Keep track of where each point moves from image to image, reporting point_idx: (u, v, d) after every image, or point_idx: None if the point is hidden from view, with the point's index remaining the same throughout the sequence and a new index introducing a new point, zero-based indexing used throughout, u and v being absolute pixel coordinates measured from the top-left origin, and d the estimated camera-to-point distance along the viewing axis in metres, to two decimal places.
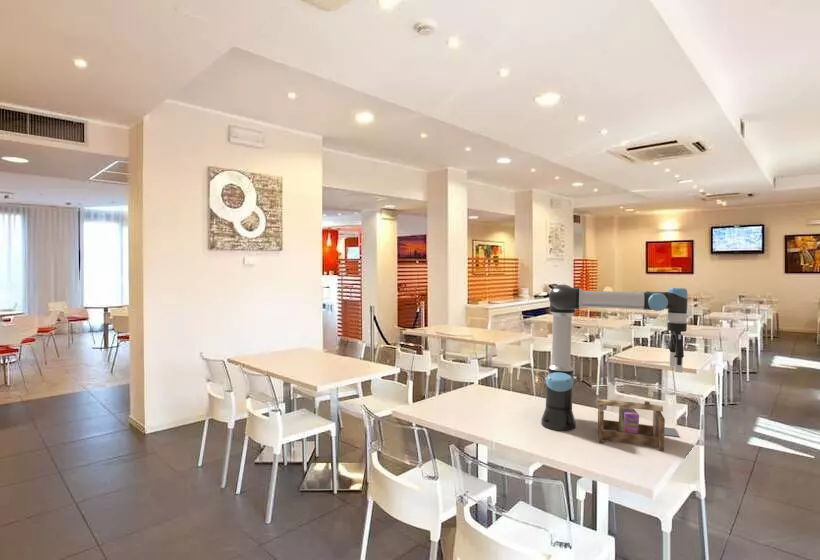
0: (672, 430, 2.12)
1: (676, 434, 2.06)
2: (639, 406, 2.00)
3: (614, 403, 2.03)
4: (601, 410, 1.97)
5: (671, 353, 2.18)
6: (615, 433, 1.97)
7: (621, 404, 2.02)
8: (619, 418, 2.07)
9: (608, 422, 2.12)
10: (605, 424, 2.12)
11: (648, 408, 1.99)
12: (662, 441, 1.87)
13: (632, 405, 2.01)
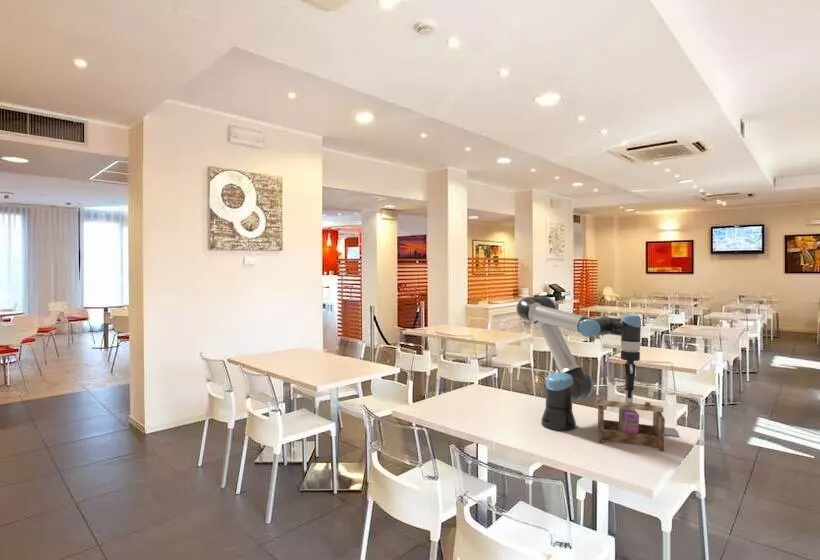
0: (672, 430, 2.12)
1: (676, 434, 2.06)
2: (639, 407, 1.98)
3: (614, 404, 2.02)
4: (601, 410, 1.97)
5: None
6: (615, 433, 1.97)
7: (621, 405, 2.01)
8: (619, 418, 2.07)
9: (608, 422, 2.12)
10: (605, 424, 2.12)
11: (648, 409, 1.97)
12: (662, 441, 1.87)
13: (632, 406, 1.99)
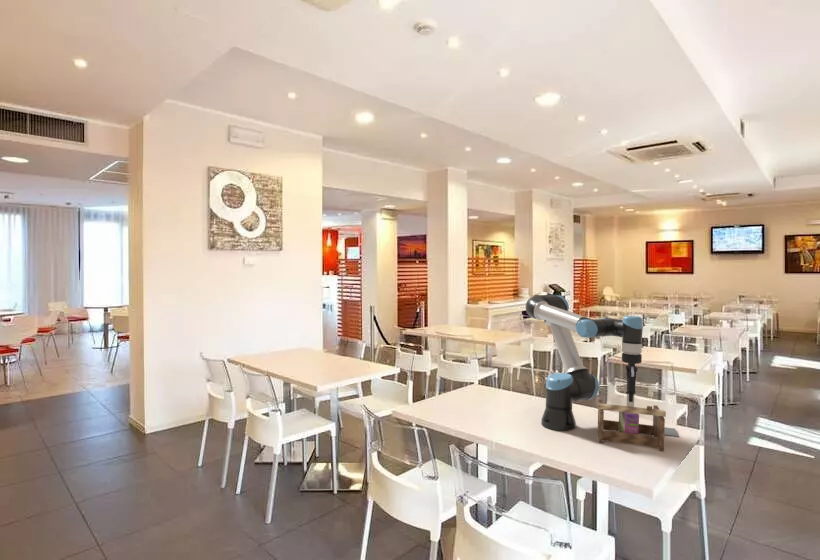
0: (672, 430, 2.12)
1: (676, 434, 2.06)
2: (641, 411, 1.93)
3: (615, 408, 1.96)
4: (601, 410, 1.97)
5: None
6: (615, 433, 1.97)
7: (622, 409, 1.95)
8: (619, 418, 2.07)
9: (608, 422, 2.12)
10: (605, 424, 2.12)
11: (650, 413, 1.91)
12: (662, 441, 1.87)
13: (634, 410, 1.94)
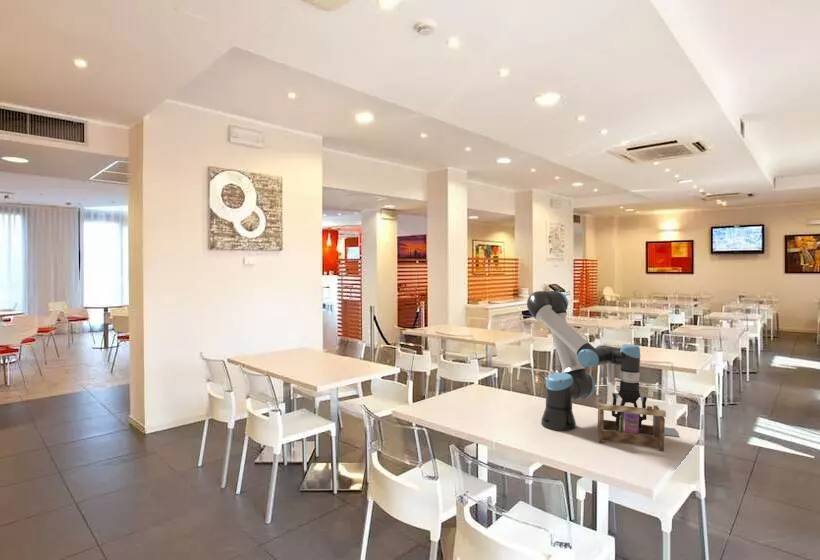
0: (672, 430, 2.12)
1: (676, 434, 2.06)
2: (641, 411, 1.92)
3: (615, 408, 1.96)
4: (601, 410, 1.97)
5: None
6: (615, 433, 1.97)
7: (622, 409, 1.95)
8: None
9: (608, 422, 2.12)
10: (605, 424, 2.12)
11: (650, 413, 1.91)
12: (662, 441, 1.87)
13: (634, 410, 1.93)
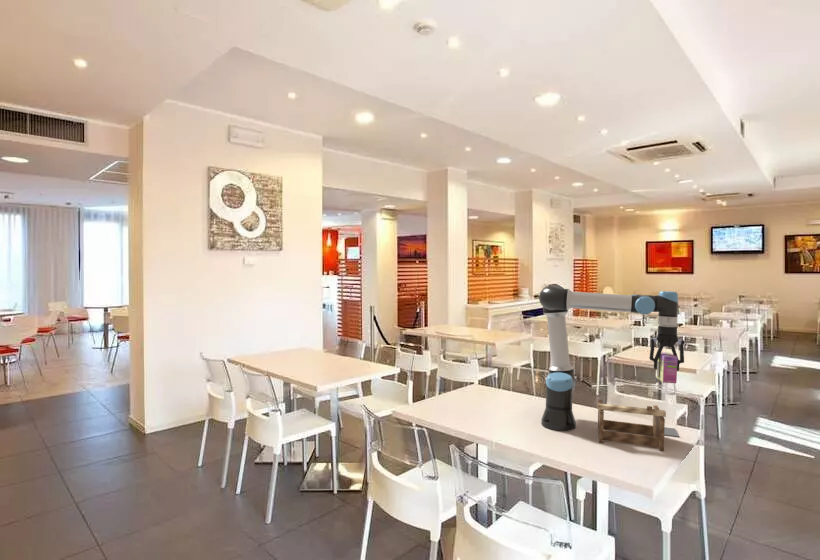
0: (672, 430, 2.12)
1: (676, 434, 2.06)
2: (641, 411, 1.92)
3: (615, 408, 1.96)
4: (601, 410, 1.97)
5: None
6: (615, 433, 1.97)
7: (622, 409, 1.95)
8: None
9: (608, 422, 2.12)
10: (605, 424, 2.12)
11: (650, 413, 1.91)
12: (662, 441, 1.87)
13: (634, 410, 1.93)
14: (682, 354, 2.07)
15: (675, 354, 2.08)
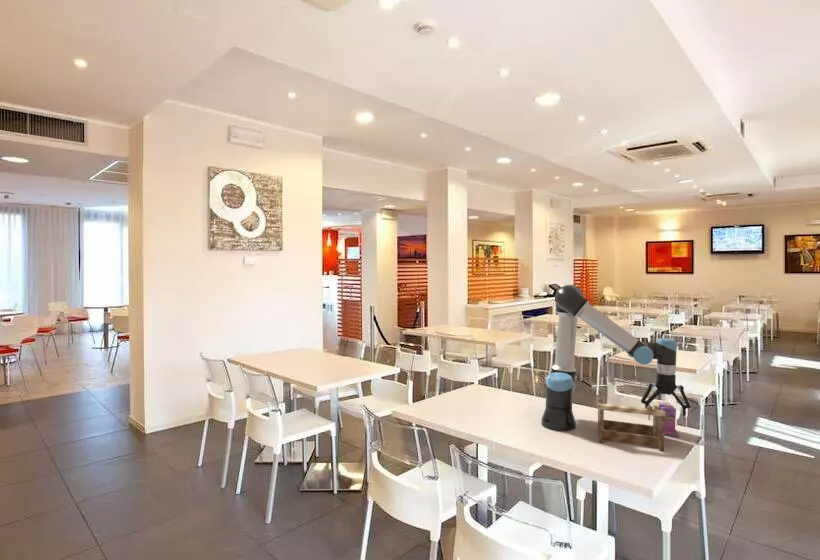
0: None
1: (676, 434, 2.06)
2: (641, 411, 1.92)
3: (615, 408, 1.96)
4: (601, 410, 1.97)
5: (680, 408, 2.09)
6: (615, 433, 1.97)
7: (622, 409, 1.95)
8: None
9: (608, 422, 2.12)
10: (605, 424, 2.12)
11: (650, 413, 1.91)
12: (662, 441, 1.87)
13: (634, 410, 1.93)
14: (686, 399, 2.07)
15: (678, 400, 2.08)
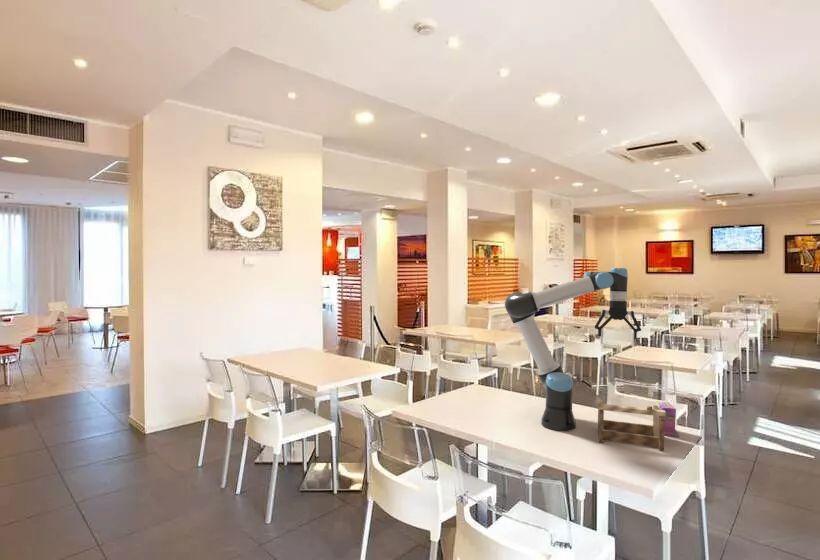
0: None
1: (676, 434, 2.06)
2: (641, 411, 1.92)
3: (615, 408, 1.96)
4: (601, 410, 1.97)
5: None
6: (615, 433, 1.97)
7: (622, 409, 1.95)
8: None
9: (608, 422, 2.12)
10: (605, 424, 2.12)
11: (650, 413, 1.91)
12: (662, 441, 1.87)
13: (634, 410, 1.93)
14: (636, 323, 2.20)
15: (630, 324, 2.21)
